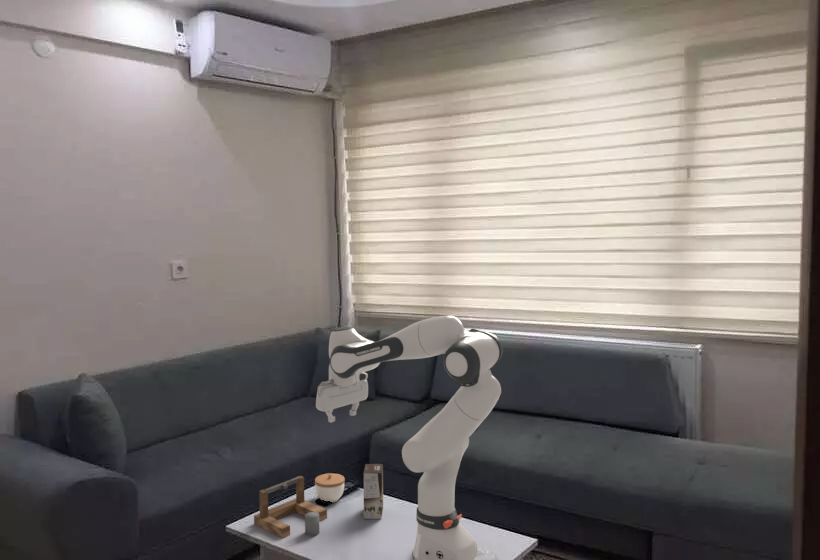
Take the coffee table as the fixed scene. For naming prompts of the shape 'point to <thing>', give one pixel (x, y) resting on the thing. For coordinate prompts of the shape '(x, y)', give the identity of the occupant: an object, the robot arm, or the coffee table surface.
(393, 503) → the coffee table surface
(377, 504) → the coffee box
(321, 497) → the lidded jar
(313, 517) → the grey cylinder
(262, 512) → the wooden crossbar stand
